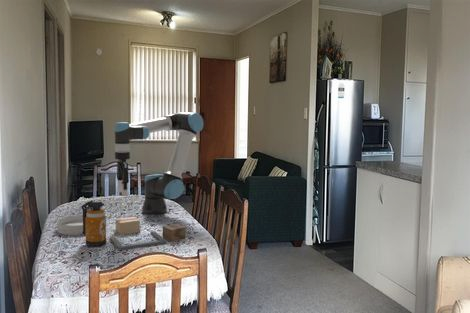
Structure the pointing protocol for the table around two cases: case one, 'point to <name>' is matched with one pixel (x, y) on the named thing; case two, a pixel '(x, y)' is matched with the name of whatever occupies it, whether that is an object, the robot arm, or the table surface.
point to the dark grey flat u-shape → (157, 236)
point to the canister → (94, 223)
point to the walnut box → (174, 232)
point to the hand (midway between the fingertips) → (122, 193)
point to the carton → (127, 225)
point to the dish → (70, 225)
